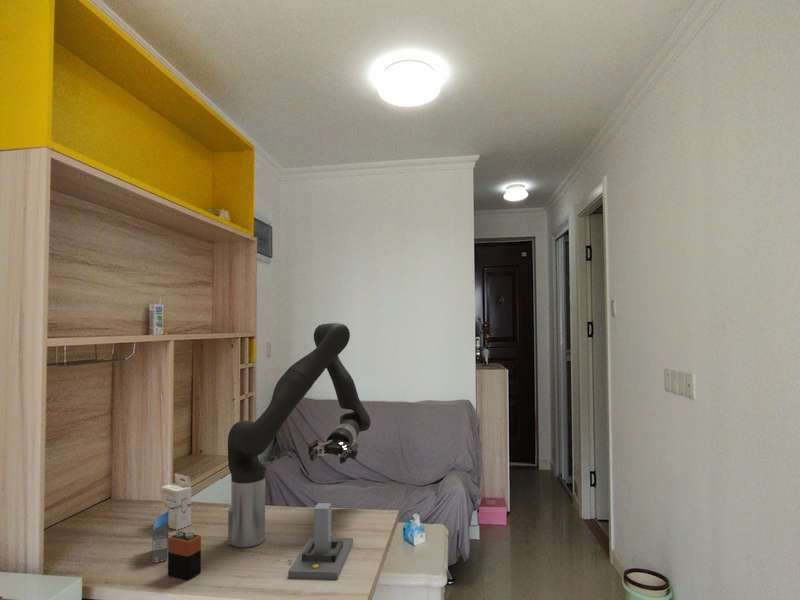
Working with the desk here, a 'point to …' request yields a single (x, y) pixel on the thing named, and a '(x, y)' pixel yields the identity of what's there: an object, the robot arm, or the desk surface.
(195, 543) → the battery
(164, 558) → the label tape cartridge
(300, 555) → the power dock
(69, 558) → the desk surface
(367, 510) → the desk surface
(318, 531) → the plug
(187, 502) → the ink cartridge box
